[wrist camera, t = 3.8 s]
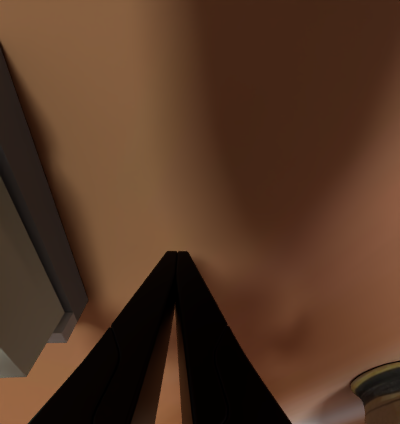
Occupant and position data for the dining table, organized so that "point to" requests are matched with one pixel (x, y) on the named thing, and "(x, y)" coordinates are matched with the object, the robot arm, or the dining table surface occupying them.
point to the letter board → (37, 207)
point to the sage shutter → (22, 296)
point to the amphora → (380, 394)
